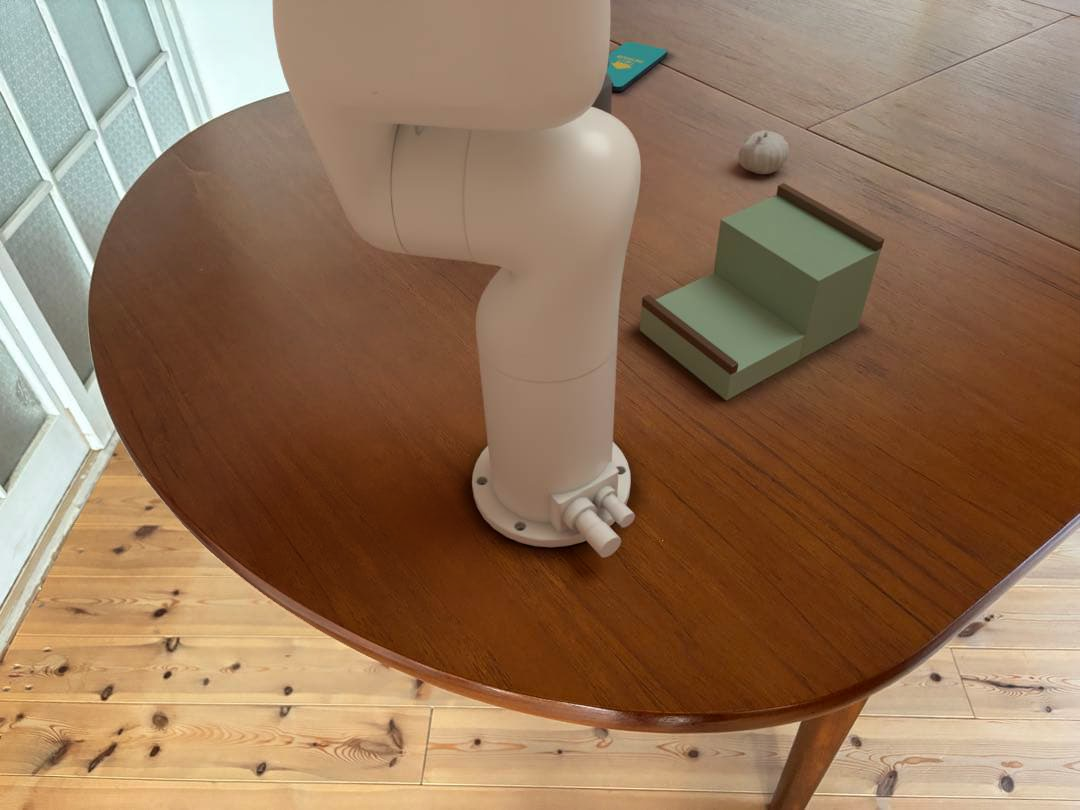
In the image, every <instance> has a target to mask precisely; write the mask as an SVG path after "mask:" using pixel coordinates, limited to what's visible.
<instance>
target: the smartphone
mask: <svg viewBox="0 0 1080 810" xmlns="http://www.w3.org/2000/svg"><path fill="white" fill-rule="evenodd" d="M668 53H669V51H668V50H667V49H666V48H661V47H656V46H652V45H648V44H642V43H638V42H633V41H626V42H624V43H623V44H621V45H619V47H617V48H615V49H614V50H613V51H611V52H609V67H608V68H607V72H606V73H607V74H608V75H609V76H610V78H611V80H612V92H623V91H624V90H626V89H627V88H628V87H630V86H631V85H632V84H633V83H635V82H636V81H638V80H639V79H640V78H641V77H643V76H644V75H645V74H646V73H647V72H649V71H650V70H651V69H653V68H654V67H655V66H656V65H658V64H659V63H661V62H662V61H663V60H664V59H666V58H667V57H668Z"/></svg>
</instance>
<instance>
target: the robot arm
mask: <svg viewBox="0 0 1080 810" xmlns="http://www.w3.org/2000/svg"><path fill="white" fill-rule="evenodd" d="M611 13H612V12H611V0H272V26H273V33H274V39H275V46H276V51H277V56H278V60H279V65H280V68H281V71H282V74H283V77H284V80H285V83H286V85H287V88H288V90H289V93H290V96H291V97H292V98H291V99H292V100H293V103H294V106H295V108H296V110H297V113H298V114H299V116H300V117H299V118H300V119H301V121H302V123H303V125H304V128H305V130H306V132H307V134H308V137H309V139H310V141H311V143H312V145H313V148H314V150H315V152H316V154H317V156H318V160H319V161H320V163H321V166H322V168H323V170H324V172H325V174H326V176H327V178H328V180H329V183H330V186H331V187H332V190H333V192H334V194H335V196H336V198H337V201H338V202H339V205H340V206H341V208H342V211H343V213H344V215H345V216H346V218H347V220H348V222H349V224H350V225H351V227H352V228H353V230H354V231H355V232H356V233H357V235H358V236H359V237H360V238H361V239H362V240H364V241H365V242H366V243H368V244H369V245H370V246H372V247H374V248H376V249H379V250H381V251H385V252H389V253H395V254H401V255H408V256H416V257H422V258H423V257H424V258H433V259H441V260H442V259H443V260H451V261H452V260H453V261H460V262H470V263H476V264H479V265H488V266H496V267H500V268H499V269H498V271H497V272H496V273H495V275H493V277H491V279H490V280H489V283H488V284H487V285H486V287H485V288H484V290H483V292H482V294H481V296H480V299H479V301H478V304H477V308H476V313H475V336H476V337H475V338H476V345H477V354H478V365H479V374H480V384H481V393H482V403H483V412H484V413H483V414H484V421H485V431H486V441H487V445H486V447H485V448H484V449H483V450H482V451H481V452H480V455H479V456H478V458H477V460H476V462H475V464H474V468H473V470H472V476H471V478H472V479H471V486H472V495H473V499H474V502H475V505H476V509H477V510H478V512H479V513H480V515H481V516H482V518H483V520H484V521H486V523H487V524H489V526H491V528H493V529H494V530H495V531H497V532H498V533H499V534H501V535H503V536H504V537H506V538H508V539H510V540H514V541H515V542H518V543H520V544H525V545H529V546H533V547H540V548H541V547H543V548H558V547H559V548H560V547H568V546H572V545H577V544H580V543H581V544H582V543H584V542H587V544H589V545H590V546H591V548H592V549H593V550H594V551H595V552H596V553H597V554H598V555H599V557H601V558H603V559H604V558H608V557H610V556H612V555H613V554H615V553H616V552H617V551H618V549H619V548H620V547H621V543H622V539H621V537H620V536H619V535H618V534H617V533H616V531H614V530H613V529H612V527H611V526H612V525H613V524H615V522H616V524H617V525H619V526H620V528H623V529H624V528H627V527H629V526H630V525H631V524H632V523H633V522H634V520H635V518H636V515H635V513H634V512H633V510H631V509H630V507H628V505H627V504H628V501H629V499H630V494H631V493H630V492H631V484H632V483H631V482H632V481H631V478H632V477H631V469H630V467H629V463H628V460H627V459H626V457H625V454H624V453H623V451H622V450H621V449H620V448H619V446H618V445H617V444H616V443H615V442H614V426H615V403H616V402H615V401H616V382H617V360H618V359H617V358H618V336H619V315H620V303H621V302H620V301H621V289H622V281H623V274H624V268H625V262H626V256H627V251H628V245H629V241H630V238H631V233H632V228H633V223H634V219H635V215H636V211H637V207H638V202H639V194H640V188H641V182H642V181H641V180H642V179H641V178H642V173H641V172H642V161H641V154H640V149H639V145H638V143H637V140H636V138H635V136H634V134H633V133H632V131H631V130H630V129H629V127H628V126H627V125H625V124H624V122H623V121H621V120H620V119H618V118H617V117H615V116H614V115H612V113H611V114H609V113H607V112H605V111H602V110H600V109H597V108H594V107H591V106H592V105H593V103H594V102H595V100H596V98H597V97H598V95H599V93H600V91H601V89H602V86H603V83H604V79H605V75H606V72H607V67H608V58H609V54H610V44H611V19H612V18H611V16H612V15H611Z"/></svg>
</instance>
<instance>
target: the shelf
mask: <svg viewBox="0 0 1080 810" xmlns="http://www.w3.org/2000/svg"><path fill="white" fill-rule="evenodd" d="M884 242H885V238H883V237H881V236H879V235H878V234H877V233H874V232H872V231H871V230H869V229H867V228H866V227H864V226H861V225H860V224H858V223H856V222H855V221H853V220H851V219H849V218H848V217H846V216H844V215H843V214H840V213H838V212H837V211H835V210H833V209H831V208H829V207H828V206H826V205H824V204H823V203H820V202H819V201H817V200H815V199H814V198H812V197H810V196H808V195H806V194H805V193H802V192H801V191H799V190H797V189H796V188H794V187H792V186H791V185H788V184H787V183H785V182H782V183H780V184H779V185H777V189H776V194H775V195H773V196H771V197H768V198H766V199H764V200H762V201H758V202H757V203H754V204H753V205H750V206H748V207H746V208H743V209H741V210H739V211H737V212H734V213H732V214H729V215H728V216H725V217H723V218H721V219H720V221H719V228H718V238H717V243H716V251H715V258H714V259H715V260H714V265H713V272H711V273H709V274H707V275H705V276H703V277H700V278H697V279H696V280H694V281H692V282H689V283H687V284H686V285H684V286H681V287H679V288H677V289H675V290H673V291H670V292H668V293H667V294H664V295H662V296H659V297H657V298H656V299H655V298H654V297H653V296H651V295H650V294H647V295H644V296H643V297H642V299H641V309H640V323H639V324H640V325H639V331H640V332H641V333H642V334H643V335H645V336H646V337H647V338H648V339H650V340H651V341H652V342H653V343H655V345H657V346H658V347H660V348H661V349H663V351H665V352H666V353H667V354H668V355H670V356H671V357H672V358H673V359H674V360H675V361H676V362H678V363H679V364H681V366H683V367H684V368H685V369H687V370H688V371H689V372H690V373H692V374H693V375H694V376H695V377H697V378H698V379H699V380H700V381H701V382H703V383H704V384H705V385H706V386H707V387H709V388H710V389H711V390H713V391H714V392H715V393H716V394H718V395H719V396H720V397H721V398H722V399H723V400H725V401H728V400H730V399H732V398H734V397H736V396H737V395H740V394H741V393H743V392H745V391H746V390H748V389H750V388H752V387H754V386H755V385H757V384H759V383H761V382H763V381H765V380H766V379H769V378H770V377H772V376H774V375H776V374H777V373H779V372H781V371H783V370H785V369H787V368H788V367H790V366H792V365H794V364H795V363H797V362H799V361H800V360H802V359H804V358H806V357H809V356H810V355H811V354H813V353H815V352H817V351H819V350H820V349H823V348H824V347H826V346H828V345H830V344H831V343H833V342H835V341H837V340H839V339H840V338H842V337H844V336H845V335H847V334H849V333H852V332H853V331H855V330H857V329H858V328H859V326H860V323H861V319H862V316H863V312H864V308H865V307H866V302H867V300H868V295H869V293H870V289H871V286H872V282H873V279H874V275H875V272H876V269H877V266H878V262H879V259H880V255H881V252H882V248H883V245H884Z"/></svg>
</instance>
